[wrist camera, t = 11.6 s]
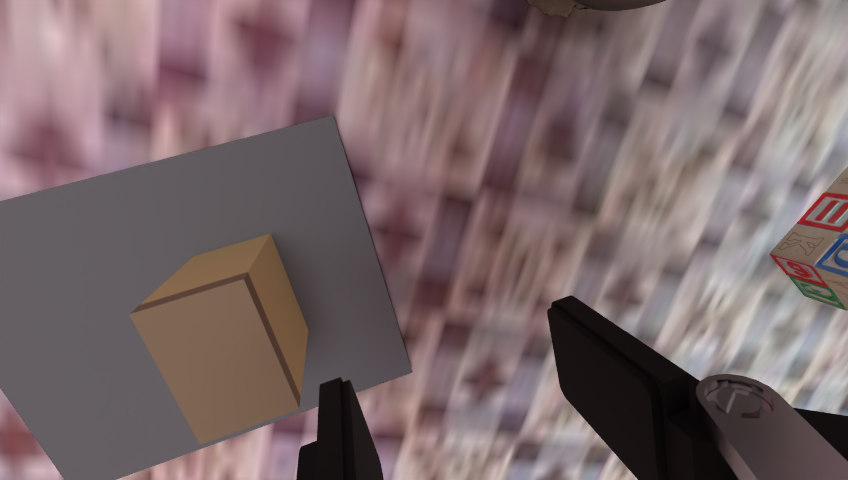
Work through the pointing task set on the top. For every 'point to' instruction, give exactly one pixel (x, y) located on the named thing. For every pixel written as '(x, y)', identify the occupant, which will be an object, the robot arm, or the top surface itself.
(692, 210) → the top surface
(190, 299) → the block
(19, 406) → the mat
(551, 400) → the top surface
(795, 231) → the stack of blocks
